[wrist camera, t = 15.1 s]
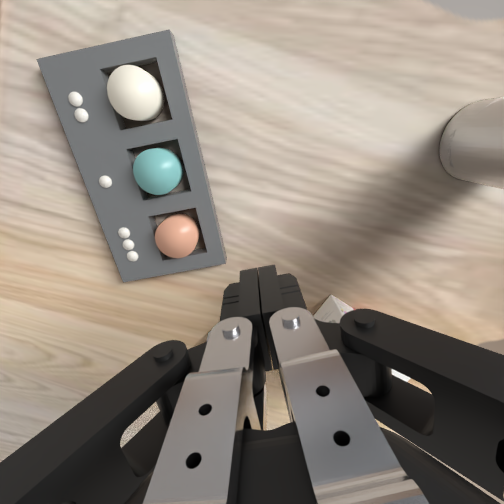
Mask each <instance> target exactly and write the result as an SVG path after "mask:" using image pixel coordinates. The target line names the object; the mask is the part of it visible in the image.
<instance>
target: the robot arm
mask: <svg viewBox="0 0 504 504" xmlns="http://www.w3.org/2000/svg"><path fill="white" fill-rule="evenodd" d="M439 151H440V159H441V163H442V165H443V167H444V168H445V170H446V171H447V172H448V173H449V174H450V175H451V176H453V177H455V178H457V179H461V180H465V181H469V182H474V183H479V184H483V185H487V186H492V187H497V188H501V189H504V97H499V98H492V99H485V100H480V101H476V102H474V103H471V104H469V105H467V106H466V107H464V108H463V109H461V110H460V111H459V112H458V113H457V114H456V115H455V116H454V117H453V118H452V119H451V121H450V122H449V123H448V125H447V126H446V128H445V130H444V132H443V135H442V138H441V141H440V148H439ZM258 272H259V275H258ZM270 353H271V356H270ZM271 358H272V362H273V367H274V370H276V369H279V374H280V379H281V384H282V389H283V393H284V397H285V401H286V406H287V410H288V414H289V418H290V422H291V423H288V424H286V425H283V426H281V427H278V428H276V429H273V430H266V417H267V389H266V384H265V382H266V373H265V371H270V370H272V365H271ZM392 369H393V370H395V371H397V372H399V373H401V374H403V375H406V376H408V377H410V378H412V379H414V380H416V381H418V382H420V383H422V384H423V385H424V386H426V387H427V388H428V389H429V390H430V392H431V393H432V394H430V393H428V392H426V391H424V390H422V389H420V388H418V387H416V386H414V385H412V384H410V383H408V382H406V381H404V380H402V379H400V378H398V377H396V376H394V375H392ZM155 402H157V405H158V407H159V410H160V412H159V413H158V414H157V415H156V416H155V417H154V418H153V419H152V420H151V421H149V422H148V423H147V424H146V425H145V426H144V427H143V428H142V429H141V430H140V431H139V432H138V433H137V434H136V435H135V436H134V437H133V438H132V439H131V440H130V441H129V442H128V443H126V444H125V445H124V446H123V447H122V448H121V447H120V440H121V437H122V435H123V433H124V431H125V430H126V429H127V427H128V426H130V425H131V424H132V423H133V422H134V421H135V420H136V419H137V418H138V417H139V416H140V415H142V414H143V413H144V412H145V411H146V410H147V409H148V408H149V407H150V406H151V405H152V404H153V403H155ZM375 419H376V420H378V421H380V422H381V423H383V424H384V425H386V426H387V427H389V428H390V429H392V430H394V431H395V432H397V433H398V434H400V435H401V436H403V437H404V438H403V437H401V436H399V435H397V434H396V433H394V432H391V431H389V430H387V429H384V428H381V427H379V425H378V423H377V422H376V420H375ZM405 438H406V439H408V440H409V441H408V440H406V439H405ZM410 441H411V442H412V443H411V442H410ZM413 443H414V444H415V445H417V446H418V447H420V448H422V449H423V450H425V451H426V452H428V453H429V454H431V455H432V456H434V457H436V458H437V459H439V460H440V461H442V462H443V463H445V464H446V465H448V466H450V467H451V468H453V469H454V470H456V471H457V472H459V473H461V474H462V475H463V476H465V477H467V478H468V479H470V480H471V481H473V482H474V483H476V484H478V485H479V486H481V487H482V488H484V489H485V490H487V491H488V492H490V493H491V494H493V495H495V496H496V497H498V498H499V499H501V500H502V501H504V355H502V354H498V353H496V352H493V351H490V350H487V349H484V348H481V347H479V346H476V345H473V344H470V343H467V342H464V341H461V340H459V339H456V338H453V337H450V336H447V335H444V334H441V333H439V332H436V331H433V330H430V329H427V328H424V327H421V326H418V325H416V324H413V323H410V322H407V321H404V320H401V319H398V318H396V317H393V316H390V315H387V314H384V313H381V312H378V311H375V310H371V309H356V310H352V311H349V312H347V313H345V314H344V315H343V316H342V317H341V319H340V323H328V322H322V321H319V320H316V319H314V318H313V316H312V314H311V313H310V312H309V311H308V310H307V308H306V305H305V302H304V299H303V296H302V294H301V291H300V288H299V285H298V282H297V279H296V278H295V277H294V276H292V275H291V274H283V275H278V276H277V272H276V268H275V265H270V266H264V267H259V268H258V270H257V268H253V269H248V270H242V271H240V282H239V283H233V284H229V286H228V287H227V288H226V289H225V290H224V295H223V302H222V309H221V316H220V322H219V323H217V324H216V325H215V326H214V327H213V328H212V330H211V332H210V335H209V338H208V341H207V342H205V343H203V344H201V345H198V346H196V347H193V348H191V349H188V350H187V348H186V345H185V344H184V343H183V342H181V341H177V340H171V341H166V342H163V343H160V344H158V345H156V346H154V347H153V348H151V349H150V350H149V351H147V352H146V353H145V354H143V355H142V356H141V357H139V358H138V359H137V360H135V361H134V362H133V363H131V364H130V365H129V366H127V367H126V368H125V369H123V370H122V371H121V372H120V373H118V374H117V375H116V376H114V377H113V378H112V379H110V380H109V381H108V382H106V383H105V384H104V385H102V386H101V387H100V388H98V389H97V390H96V391H94V392H93V393H92V394H90V395H89V396H88V397H86V398H85V399H84V400H82V401H81V402H80V403H79V404H77V405H76V406H75V407H73V408H72V409H71V410H69V411H68V412H67V413H65V414H64V415H63V416H61V417H60V418H59V419H57V420H56V421H55V422H53V423H52V424H51V425H49V426H48V427H47V428H45V429H44V430H43V431H41V432H40V433H39V434H38V435H36V436H35V437H34V438H32V439H31V440H30V441H28V442H27V443H26V444H24V445H23V446H22V447H20V448H19V449H18V450H16V451H15V452H14V453H12V454H11V455H10V456H8V457H7V458H6V459H4V460H3V461H2V462H0V504H500V503H499V502H497V501H496V500H494V499H493V498H492V497H490V496H488V495H487V494H485V493H484V492H483V491H481V490H480V489H478V488H477V487H475V486H474V485H473V484H471V483H470V482H468V481H467V480H465V479H464V478H462V477H461V476H459V475H458V474H456V473H455V472H453V471H452V470H450V469H449V468H448V467H446V466H445V465H443V464H442V463H440V462H439V461H437V460H436V459H435V458H433V457H432V456H430V455H429V454H427V453H425V452H424V451H422V450H421V449H420V448H418V447H417V446H415V445H414V444H413Z"/></svg>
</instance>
